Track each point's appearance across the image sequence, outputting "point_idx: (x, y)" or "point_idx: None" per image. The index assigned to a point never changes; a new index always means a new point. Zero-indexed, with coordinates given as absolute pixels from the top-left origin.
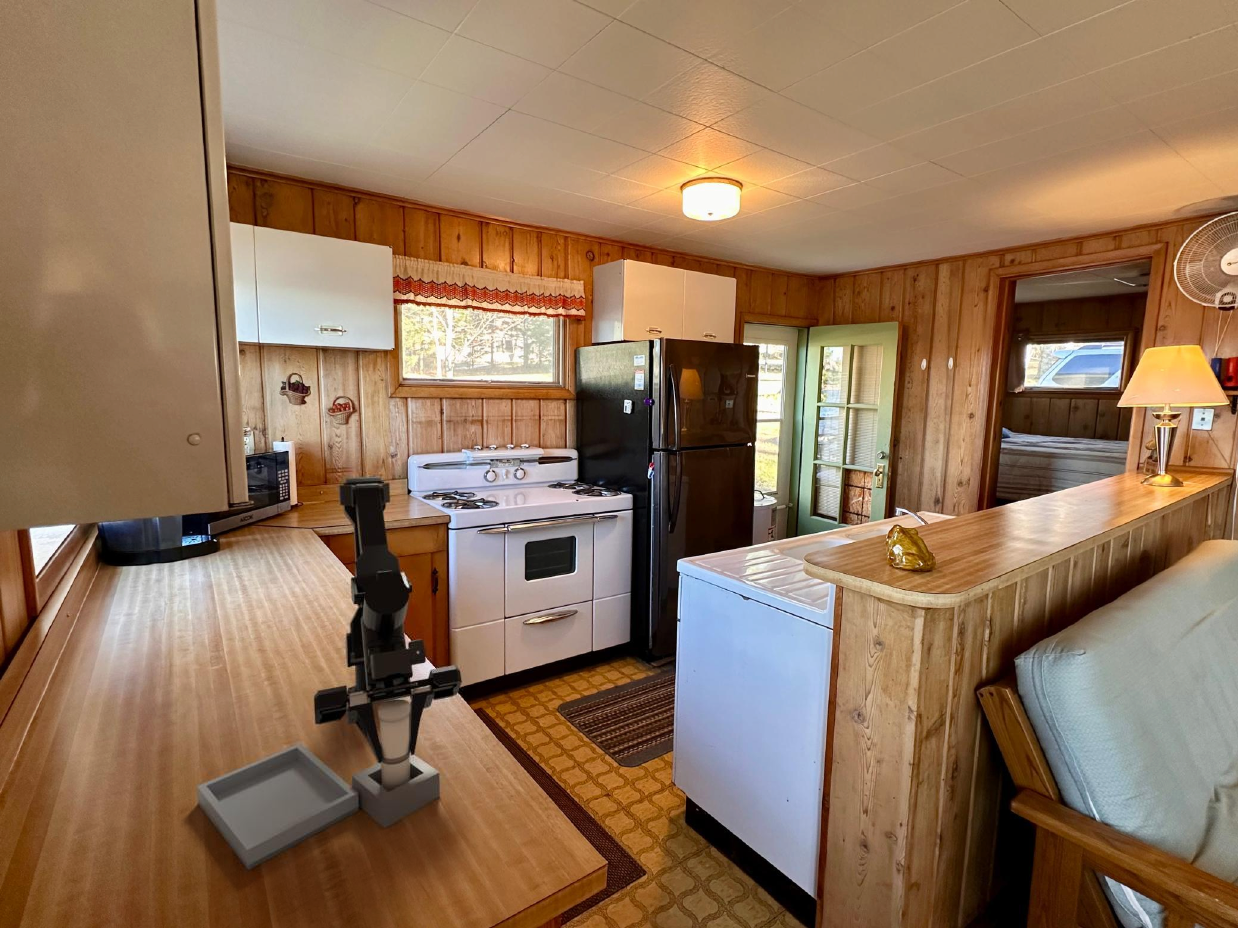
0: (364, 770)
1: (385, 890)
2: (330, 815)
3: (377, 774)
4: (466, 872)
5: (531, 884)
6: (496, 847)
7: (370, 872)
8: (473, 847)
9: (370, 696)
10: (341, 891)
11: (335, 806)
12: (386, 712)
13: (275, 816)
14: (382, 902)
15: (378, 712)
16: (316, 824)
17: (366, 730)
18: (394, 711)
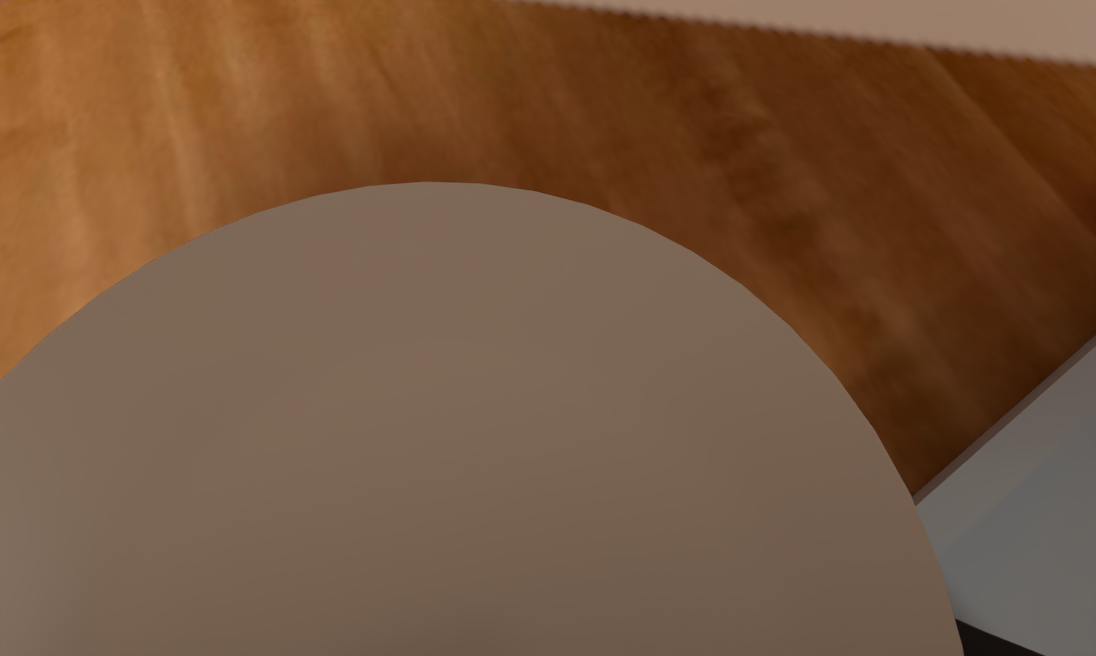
0: None
1: (531, 90)
2: (938, 480)
3: None
4: (225, 120)
5: (18, 45)
6: (73, 216)
7: (605, 174)
8: (167, 232)
9: None
10: (700, 108)
11: (932, 489)
12: (597, 335)
13: None
14: (535, 49)
15: (859, 443)
16: (993, 430)
17: (998, 646)
18: (367, 357)
